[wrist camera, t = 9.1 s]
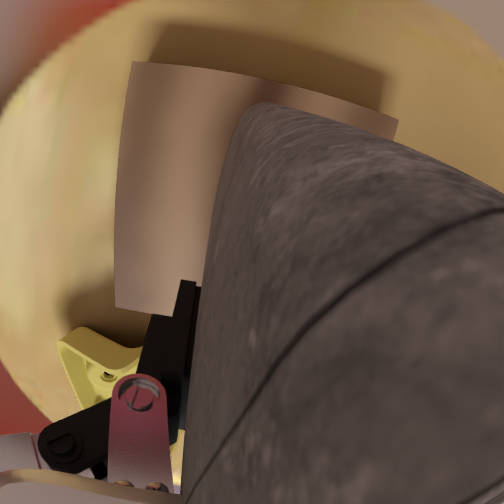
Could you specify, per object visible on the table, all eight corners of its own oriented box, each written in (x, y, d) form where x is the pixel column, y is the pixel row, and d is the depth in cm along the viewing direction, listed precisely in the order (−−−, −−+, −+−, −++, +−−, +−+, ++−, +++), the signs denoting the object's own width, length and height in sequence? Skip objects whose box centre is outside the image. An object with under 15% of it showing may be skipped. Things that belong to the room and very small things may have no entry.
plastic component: (50, 332, 24) (126, 379, 21) (102, 298, 31) (179, 329, 27) (101, 447, 32) (164, 485, 29) (133, 414, 39) (193, 445, 35)
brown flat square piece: (379, 115, 20) (398, 119, 17) (312, 313, 27) (320, 336, 25) (146, 65, 17) (132, 61, 15) (125, 284, 25) (115, 307, 22)
